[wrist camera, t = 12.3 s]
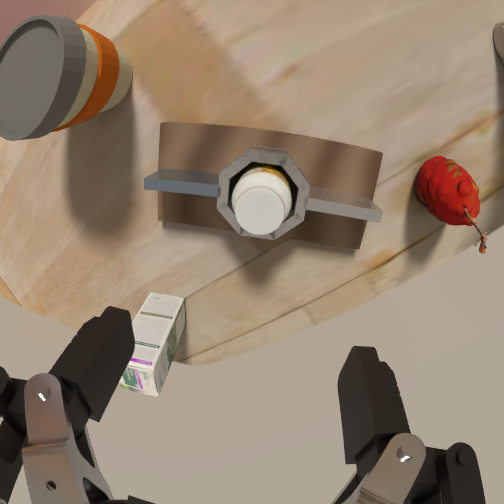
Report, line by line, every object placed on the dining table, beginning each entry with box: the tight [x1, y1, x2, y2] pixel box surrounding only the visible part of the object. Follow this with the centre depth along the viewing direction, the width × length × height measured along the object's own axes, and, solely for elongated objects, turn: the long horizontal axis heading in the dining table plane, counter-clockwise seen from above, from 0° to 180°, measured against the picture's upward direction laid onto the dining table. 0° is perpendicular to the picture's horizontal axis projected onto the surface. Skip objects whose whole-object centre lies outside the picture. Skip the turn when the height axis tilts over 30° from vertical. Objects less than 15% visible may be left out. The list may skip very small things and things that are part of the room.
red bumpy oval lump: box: [415, 156, 492, 253], centre depth 24 cm, size 8×7×15 cm
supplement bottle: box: [232, 162, 292, 235], centre depth 27 cm, size 5×5×10 cm
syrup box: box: [119, 292, 186, 397], centre depth 36 cm, size 6×6×14 cm
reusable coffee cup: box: [0, 15, 133, 141], centre depth 21 cm, size 13×13×15 cm
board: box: [158, 122, 383, 249], centre depth 32 cm, size 25×12×2 cm, turn 83°
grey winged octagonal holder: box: [144, 145, 383, 240], centre depth 29 cm, size 24×8×5 cm, turn 83°
